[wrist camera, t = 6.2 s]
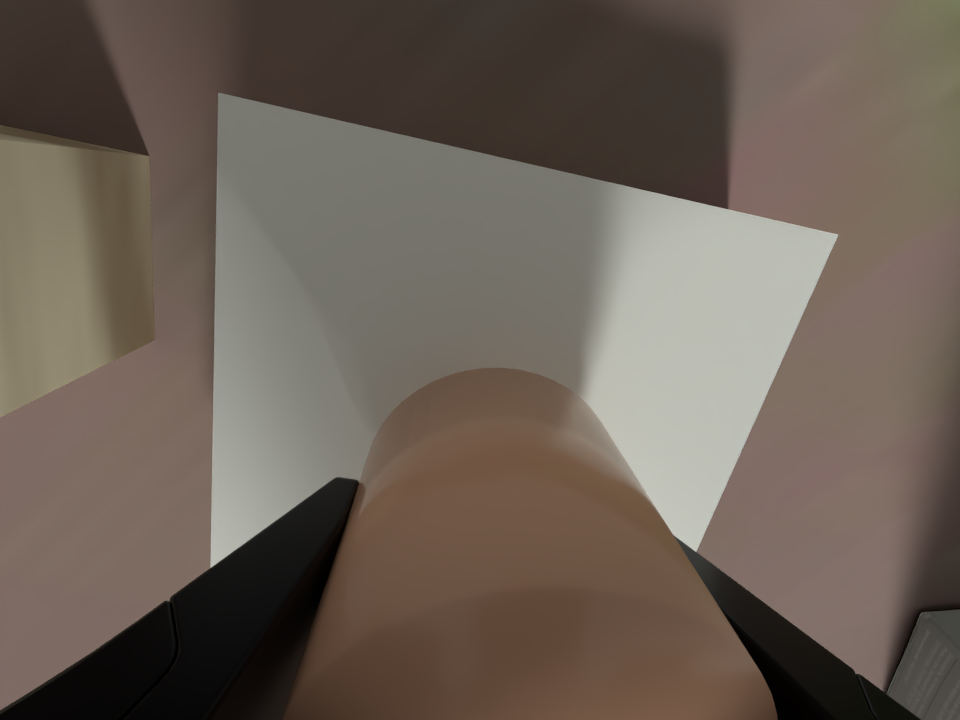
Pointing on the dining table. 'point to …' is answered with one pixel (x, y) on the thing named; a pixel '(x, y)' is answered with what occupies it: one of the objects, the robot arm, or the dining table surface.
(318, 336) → the white flat block
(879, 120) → the dining table surface
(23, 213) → the birch cube
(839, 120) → the dining table surface
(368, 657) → the peach rounded cylinder
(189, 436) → the dining table surface
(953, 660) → the skincare box
